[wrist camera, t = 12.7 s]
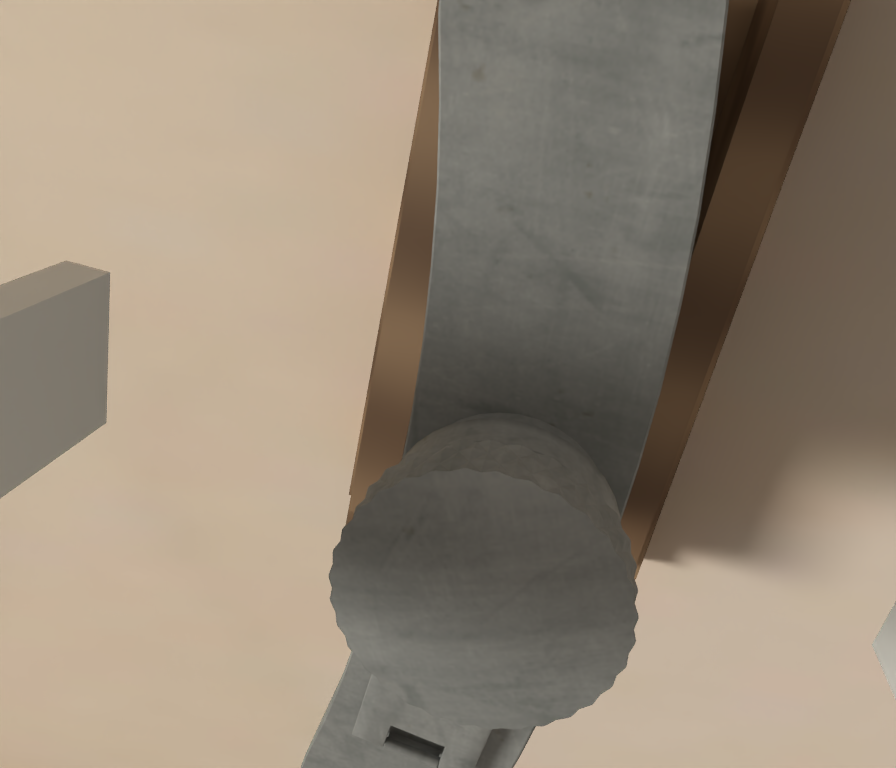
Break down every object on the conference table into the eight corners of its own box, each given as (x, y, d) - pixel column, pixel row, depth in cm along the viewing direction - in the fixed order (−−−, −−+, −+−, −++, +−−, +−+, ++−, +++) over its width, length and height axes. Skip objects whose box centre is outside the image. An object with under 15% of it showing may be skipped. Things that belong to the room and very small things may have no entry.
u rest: (481, -183, 24) (444, -248, 19) (878, -107, 23) (948, -154, 18) (360, 477, 34) (314, 547, 29) (635, 557, 33) (637, 646, 28)
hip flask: (572, -22, 24) (411, -285, 6) (704, 6, 24) (962, -185, 6) (464, 432, 31) (228, 969, 12) (567, 461, 30) (477, 1061, 12)
